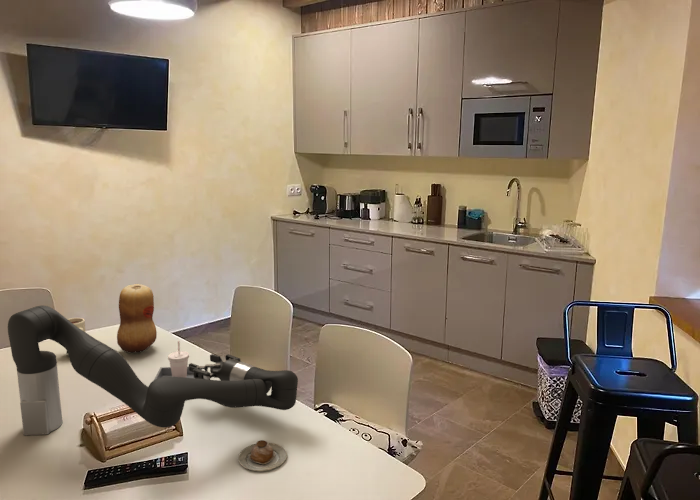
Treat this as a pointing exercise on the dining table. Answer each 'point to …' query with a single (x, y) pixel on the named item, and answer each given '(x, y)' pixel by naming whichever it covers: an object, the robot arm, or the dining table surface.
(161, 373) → the bin
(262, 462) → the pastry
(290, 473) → the dining table surface
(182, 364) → the smoothie
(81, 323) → the character mug
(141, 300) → the butternut squash
